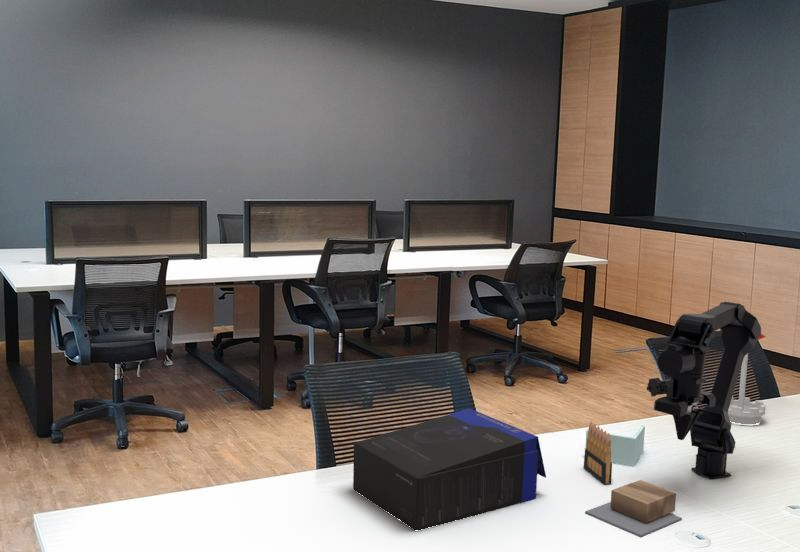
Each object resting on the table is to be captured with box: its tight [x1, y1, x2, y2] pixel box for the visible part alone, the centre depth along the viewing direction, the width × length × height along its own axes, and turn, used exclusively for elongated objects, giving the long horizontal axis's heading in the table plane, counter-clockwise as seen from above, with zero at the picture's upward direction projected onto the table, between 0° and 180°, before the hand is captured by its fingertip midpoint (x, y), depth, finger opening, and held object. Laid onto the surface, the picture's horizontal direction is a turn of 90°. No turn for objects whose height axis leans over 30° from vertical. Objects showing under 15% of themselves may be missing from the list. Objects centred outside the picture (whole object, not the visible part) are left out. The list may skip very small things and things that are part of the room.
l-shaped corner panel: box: [585, 424, 646, 468], centre depth 216 cm, size 12×12×8 cm
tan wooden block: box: [610, 479, 677, 523], centre depth 182 cm, size 4×9×10 cm
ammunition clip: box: [583, 420, 613, 486], centre depth 201 cm, size 11×2×12 cm, turn 14°
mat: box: [584, 501, 683, 538], centre depth 180 cm, size 14×14×1 cm
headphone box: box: [352, 408, 547, 531], centre depth 189 cm, size 25×35×14 cm
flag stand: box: [728, 333, 767, 424], centre depth 246 cm, size 13×13×30 cm
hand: (680, 439), depth 193 cm, fingers closed
